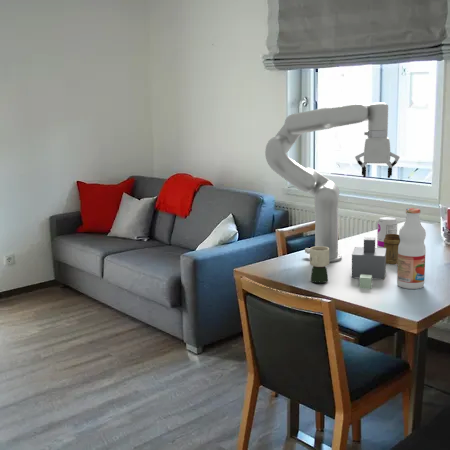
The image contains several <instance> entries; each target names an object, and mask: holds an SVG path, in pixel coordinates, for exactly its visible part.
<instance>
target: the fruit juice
mask: <svg viewBox="0 0 450 450" xmlns="http://www.w3.org/2000/svg"><path fill="white" fill-rule="evenodd" d="M405 214H406V219H405V221H404V223H403V225H402V226H401V228H400V229H399V230H398V231H399V232H398V235H399V238H400V243H399V246H398V264H397V268H396V269H397V271H396V273H397V274H396V275H397V277H396V280H397V281H396V284H397V286H398V287H400V288H402V289H409V290H418V289H422V288H423V287H424V286H425V276H426V275H425V274H426V253H427V251H426V244H425V240H426V237H427V232H426V229H425V227H424V226H423V225H422V223H421V219H420V215H421V208H418V207H417V208H414V207H411V208H410V207H407V208H406V210H405Z"/></svg>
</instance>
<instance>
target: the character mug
mask: <svg viewBox="0 0 450 450" xmlns="http://www.w3.org/2000/svg"><path fill="white" fill-rule="evenodd" d="M309 265H311V266H312V269H311V276H310V281H311V283H317V284H319V283H328V281H329V278H328V277H329V275H328V270H327V269H328V268H327V267H328V266H329V265H330V262H329V248H328V247H324V246H315V245H314V246H311V247H310V254H309Z"/></svg>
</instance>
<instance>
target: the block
mask: <svg viewBox="0 0 450 450" xmlns="http://www.w3.org/2000/svg"><path fill="white" fill-rule="evenodd" d="M372 286H373V279H372V275H362V274H361V275H360V278H359V289H367V290H369V289H370V290H371V289H372Z"/></svg>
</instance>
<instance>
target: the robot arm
mask: <svg viewBox="0 0 450 450" xmlns="http://www.w3.org/2000/svg"><path fill="white" fill-rule="evenodd" d="M284 120H285V121H284V124H283V125H282V127H281V128H280V129H279V131H278V132H277V133H276V134H275V136H273V137H271V138H270V139H269V140H268V141H267V143H266V146H265V151H264V153H265V156H264V157H265V160H266V162H267V165H268V166H269V168H271V170H272V171H273V172H275V173H276V174H278V175H279V176H280V177H281V178H283V179H284V180H286V181H287V182H288V183H289V184H291V185H292V186H293V187H295V188H296V189H298V190H299V191H300V192H302V193H310V194H311V195H312V196H314V224H315V225H314V226H315V228H314V235H315V236H314V246H324V247H328V248H329V263H335V262H339V261H341V260H342V259H343V258H342V255H341V253H340V254H339V198H340V188H339V187H338V185H337V184H336V183H335V182H334V181H332V180H330V178H328V177H326V176H325V175H323V174H322V173H321V172H319V171H317V170H316V169H314V168H312V167H307V166H306V167H304V166H303V165H301V164H300V163H298V162H296V160H294V159H292V158H290V157H289V156H288V154H287V153H288V152H289V151H290V150H291V148H292V147H293V145H294V144H296V142H297V140H298V139H299V138H300V136H301V135H302V134H305V133H313V132H318V131H323V130H329V129H332V128H337V127H343V126H349V125H355V124H360V123H362V122H366V121H368V125H367V127H368V128H367V131H364V133H363V134H364V136H367V137H366V138H365V142H364V149H363V152H362V153H359V154H357V155H356V156H354V158H355V160H356V162H357V164H358V165H359V166H360V168H361V176H362V178H366V176H367V167H366V166H367V164H386V165H387V166H388V168H387V178H388V179H389V178H391V176H392V175H393V167H395V165H397V164H398V162H399V159H400V156H399V155H397V154H395V153H393V152H391V142H390V138H389V137H388V135H389V134H388V132H389V131H388V126H389V125H388V124H389V122H388V121H389V105H388V104H387V103H385V102H372V103H363V102H357V103H353V104H352V103H351V104H348V105H343V106H338V107H323V108H317V109H313V110H307V111H300V112H297V113H296V112H294V113H292V114H289V115H288V116H287V117H286V118H285V119H284ZM362 157H363V162H362V160H361V158H362ZM391 157H392V158H394V160H393V162H391ZM310 248H311V247H310ZM310 248H309V247H306V248H304V253H306V254H309V255H310Z"/></svg>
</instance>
